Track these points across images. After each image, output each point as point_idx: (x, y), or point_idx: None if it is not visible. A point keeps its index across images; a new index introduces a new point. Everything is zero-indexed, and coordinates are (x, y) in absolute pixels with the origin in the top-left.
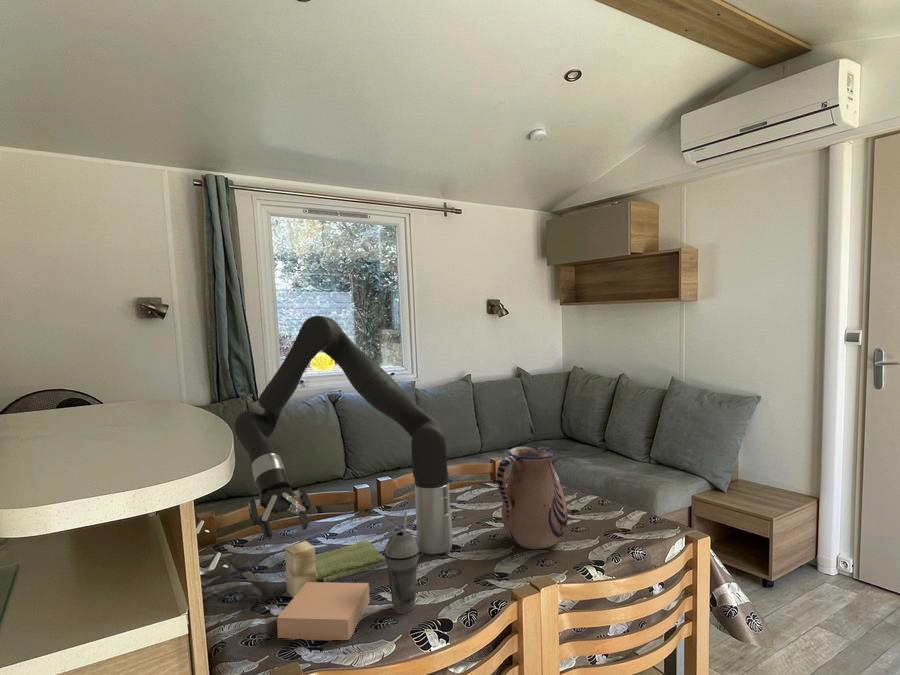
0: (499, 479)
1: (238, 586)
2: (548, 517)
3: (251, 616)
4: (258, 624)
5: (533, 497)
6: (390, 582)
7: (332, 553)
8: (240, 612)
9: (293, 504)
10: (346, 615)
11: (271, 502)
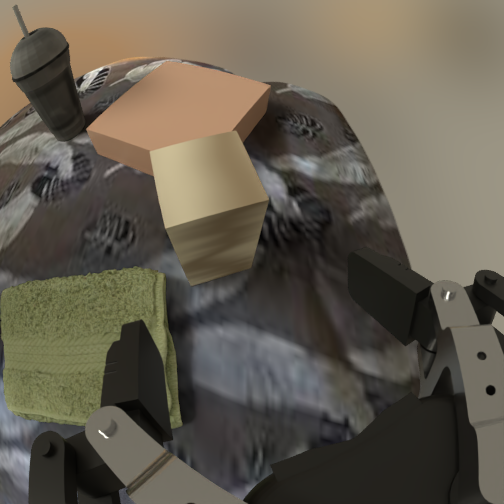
0: None
1: (378, 347)
2: None
3: (323, 187)
4: (304, 156)
5: None
6: (74, 88)
7: (94, 386)
8: (349, 212)
9: (198, 475)
10: (164, 66)
11: (498, 404)
